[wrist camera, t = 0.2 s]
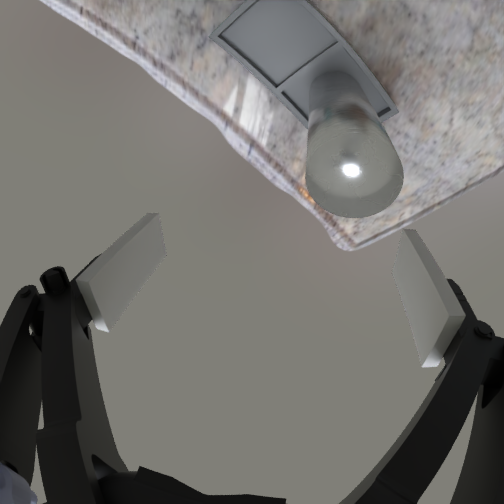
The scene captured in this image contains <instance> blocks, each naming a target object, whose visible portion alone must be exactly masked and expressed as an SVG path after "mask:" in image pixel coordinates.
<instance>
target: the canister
mask: <svg viewBox="0 0 504 504" xmlns="http://www.w3.org/2000/svg"><path fill="white" fill-rule="evenodd" d="M305 179H306V185H307V189H308V191H309V193H310V195H311V197H312V198H313V199H314V201H315V202H316V203H317V204H318V205H319V206H320V207H322V208H323V209H324V210H326V211H328V212H330V213H332V214H334V215H337V216H341V217H346V218H363V217H368V216H371V215H374V214H377V213H379V212H381V211H383V210H384V209H386V208H387V207H388V206H390V205H391V204H392V203H393V202H394V200H395V199H396V198H397V196H398V195H399V193H400V191H401V188H402V185H403V179H404V173H403V167H402V164H401V161H400V159H399V157H398V154H397V152H396V150H395V148H394V146H393V144H392V142H391V140H390V138H389V136H388V134H387V132H386V130H385V128H384V126H383V124H382V123H381V121H380V119H379V117H378V115H377V113H376V112H375V110H374V108H373V106H372V105H371V103H370V101H369V99H368V98H367V96H366V94H365V93H364V91H363V89H362V88H361V86H360V85H359V83H358V82H357V81H356V80H355V79H354V78H353V77H352V76H350V75H348V74H346V73H343V72H337V71H332V72H327V73H324V74H322V75H320V76H319V77H317V78H316V79H315V80H314V82H313V83H312V85H311V88H310V94H309V121H308V141H307V159H306V176H305Z"/></svg>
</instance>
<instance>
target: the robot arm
mask: <svg viewBox="0 0 504 504" xmlns="http://www.w3.org/2000/svg"><path fill="white" fill-rule="evenodd" d="M166 256H167V255H166V250H165V244H164V239H163V233H162V227H161V221H160V215H159V213H147V214H146V215H145V216H144V217H142V218H141V219H140V220H139V221H138V222H137V223H135V224H134V225H133V226H132V227H131V228H130V229H129V230H128V231H126V232H125V233H124V234H123V235H122V236H121V237H120V238H119V239H117V240H116V241H115V242H114V243H113V244H112V245H111V246H110V247H109V248H108V249H107V250H106V251H104V252H103V253H102V254H100V255H99V256H97V257H95V258H94V259H93V260H92V261H91V262H90V263H89V264H88V265H87V266H86V267H85V268H84V269H83V270H82V271H80V273H78V275H77V276H75V277H74V278H73V280H71V282H69V279H68V277H67V274H66V272H65V269H64V268H63V267H59V266H57V267H53V268H51V269H48V270H47V271H45V272H44V273H43V274H42V275H41V277H40V282H41V284H42V286H43V288H44V291H45V293H44V294H39V293H38V290H37V288H36V286H34V285H28V286H25V287H23V288H21V290H19V291H18V293H17V294H16V296H15V297H14V299H13V301H12V303H11V305H10V307H9V309H8V311H7V313H6V315H5V317H4V319H3V322H2V324H1V326H0V504H36V503H37V496H36V494H35V493H34V492H33V491H32V490H31V489H30V486H31V482H32V477H33V472H34V462H35V451H36V445H37V453H38V459H39V466H40V471H41V477H42V482H43V486H44V491H45V495H46V499H47V502H46V503H43V504H286V499H285V498H273V497H265V496H264V497H263V496H257V495H249V494H243V495H206V494H202V493H201V492H199V491H197V490H195V489H193V488H191V487H189V486H187V485H185V484H184V483H182V482H180V481H178V480H176V479H174V478H173V477H170V476H167V475H164V474H161V473H158V472H155V471H152V470H149V469H147V468H144V467H141V466H139V469H138V471H128V469H127V467H126V465H125V464H124V462H123V461H122V459H121V458H120V456H119V454H118V451H117V448H116V445H115V442H114V438H113V435H112V432H111V428H110V425H109V421H108V417H107V413H106V409H105V405H104V401H103V397H102V392H101V388H100V383H99V378H98V373H97V367H96V362H95V356H94V349H93V343H92V336H91V329H90V327H89V325H88V324H89V322H90V321H91V320H93V322H94V324H95V326H96V328H97V329H99V330H103V331H107V332H110V331H111V329H112V328H113V326H114V325H115V324H116V322H117V321H118V319H119V318H120V317H121V315H122V314H123V312H124V311H125V309H126V308H127V307H128V306H129V304H130V303H131V301H132V300H133V299H134V297H135V296H136V295H137V293H138V292H139V291H140V289H141V288H142V287H143V285H144V284H145V283H146V281H147V280H148V279H149V278H150V276H151V275H152V274H153V272H154V271H155V270H156V268H157V267H158V266H159V265H160V263H161V262H162V261H163V260H164V258H165V257H166ZM392 275H393V277H394V280H395V283H396V286H397V288H398V291H399V294H400V297H401V300H402V303H403V306H404V309H405V312H406V315H407V318H408V321H409V324H410V328H411V331H412V335H413V337H414V341H415V345H416V348H417V352H418V356H419V359H420V363H421V367H435V366H438V364H439V363H440V361H441V359H442V358H443V357H444V360H445V363H446V364H445V366H444V368H443V369H442V371H441V372H440V374H439V375H438V377H437V378H436V379H435V383H434V385H433V387H432V388H431V390H430V392H429V393H428V395H427V397H426V398H425V400H424V401H423V403H422V404H421V406H420V408H419V409H418V411H417V412H416V414H415V415H414V417H413V418H412V419H411V421H410V422H409V424H408V425H407V427H406V428H405V430H404V431H403V432H402V434H401V435H400V436H399V438H398V439H397V440H396V442H395V443H394V444H393V445H392V447H391V448H390V449H389V450H388V452H387V453H386V454H385V455H384V457H383V458H382V459H381V460H380V462H379V463H378V464H377V465H376V466H375V467H374V468H373V470H372V471H371V472H370V473H369V474H368V475H367V476H366V477H365V478H364V480H363V481H362V482H361V483H360V484H359V485H358V486H357V487H356V488H355V489H354V490H353V491H352V492H351V493H350V494H349V495H348V496H347V497H346V498H345V499H344V500H342V501H341V502H340V503H339V504H417V502H418V500H419V499H420V497H421V496H422V494H423V493H424V491H425V490H426V488H427V487H428V486H429V484H430V483H431V481H432V479H433V478H434V476H435V475H436V473H437V472H438V470H439V469H440V467H441V465H442V463H443V462H444V460H445V458H446V457H447V455H448V453H449V451H450V450H451V448H452V446H453V444H454V442H455V440H456V439H457V437H458V435H459V433H460V430H461V429H462V427H463V425H464V422H465V420H466V418H467V416H468V414H469V411H470V409H471V407H472V404H473V402H474V400H475V397H476V395H477V392H478V396H477V403H476V410H475V415H474V421H473V426H472V431H471V436H470V440H469V445H468V449H467V453H466V456H465V460H464V464H463V467H462V471H461V474H460V477H459V480H458V483H457V486H456V489H455V492H454V495H453V497H452V500H451V503H450V504H504V338H501V337H497V336H495V333H494V331H493V329H492V328H491V327H490V326H489V325H488V324H486V323H485V322H482V321H479V320H477V318H476V316H475V314H474V312H473V311H472V309H471V307H470V305H469V303H468V302H467V300H466V298H465V296H464V295H463V292H462V291H461V289H460V287H459V286H458V285H457V284H456V283H455V282H454V281H453V280H452V279H446V278H445V276H444V274H443V273H442V271H441V269H440V268H439V266H438V264H437V263H436V261H435V259H434V258H433V256H432V254H431V253H430V251H429V250H428V248H427V247H426V245H425V243H424V242H423V240H422V239H421V237H420V236H419V234H418V233H417V231H416V230H412V229H403V230H402V235H401V239H400V243H399V247H398V252H397V255H396V260H395V263H394V267H393V271H392ZM29 326H30V328H31V329H32V331H33V332H32V334H31V335H30V333H29ZM41 402H42V405H43V418H44V428H43V429H40V430H38V422H39V415H40V408H41Z"/></svg>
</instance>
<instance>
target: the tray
mask: <svg viewBox="0 0 504 504" xmlns="http://www.w3.org/2000/svg"><path fill="white" fill-rule="evenodd" d="M209 38H211V39H212V40H213V41H214V42H216V43H217V44H218V45H219V46H220V47H222V48H223V49H224V50H225V51H226V52H228V53H229V54H230V55H231V56H232V57H233V58H235V59H236V60H237V61H238V62H239V63H240V64H242V65H243V66H244V67H245V68H246V69H247V70H248V71H249V72H250V73H252V74H253V75H254V76H255V77H256V78H257V79H258V80H259V81H260V82H261V83H262V84H263V85H264V86H265V87H266V88H268V89H269V90H270V91H271V92H272V93H273V94H274V95H275V96H276V97H277V98H278V99H279V100H280V101H281V102H282V103H283V104H284V105H285V106H286V107H287V108H288V109H289V110H290V111H291V112H292V114H293V115H294V116H295V117H296V118H297V119H298V120H299V121H300V122H301V123H302V124H303V125H304V126H305V127H306V128H307V129H308V121H309V94H310V88H311V85H312V83H313V82H314V80H315V79H316V78H317V77H319V76H320V75H322V74H324V73H327V72H332V71H337V72H343V73H346V74H348V75H350V76H352V77H353V78H354V79H355V80H356V81H357V82H358V83H359V85H360V86H361V88H362V89H363V91H364V93H365V94H366V96H367V98H368V99H369V101H370V103H371V105H372V106H373V108H374V110H375V112H376V113H377V115H378V117H379V119H380V121H381V123H382V122H384V121H385V120H387V119H389V118H390V117H392V116H394V115H395V114H397V113H399V111H398V109H397V107H396V106H395V104H394V103H393V101H392V100H391V99H390V97H389V96H388V94H387V93H386V91H385V90H384V88H383V87H382V86H381V84H380V83H379V82H378V80H377V79H376V78H375V76H374V75H373V74H372V72H371V71H370V70H369V68H368V67H367V66H366V65H365V63H364V62H363V61H362V60H361V58H360V57H359V56H358V55H357V53H356V52H355V51H354V50H353V49H352V47H351V46H350V45H349V44H348V43H347V42H346V41H345V39H344V38H343V37H342V36H341V35H340V34H339V33H338V32H337V31H336V30H335V28H334V27H333V26H332V25H331V24H330V23H329V22H328V21H327V20H326V19H325V18H324V17H323V16H322V15H321V14H320V13H319V12H318V11H317V10H316V9H315V8H314V7H313V6H312V5H311V4H310V3H308V2H307V1H306V0H247V1H245V2H244V3H243V4H242V5H241V6H240V7H239V8H238V9H236V10H235V11H234V12H233V13H232V14H231V15H230V16H229V17H228V18H227V19H226V20H225V21H224V22H223V23H222V24H221V25H220V26H219V27H218V28H217V29H216V30H215V31H214V32H213V33H212V34H211V35H210V36H209Z"/></svg>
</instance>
